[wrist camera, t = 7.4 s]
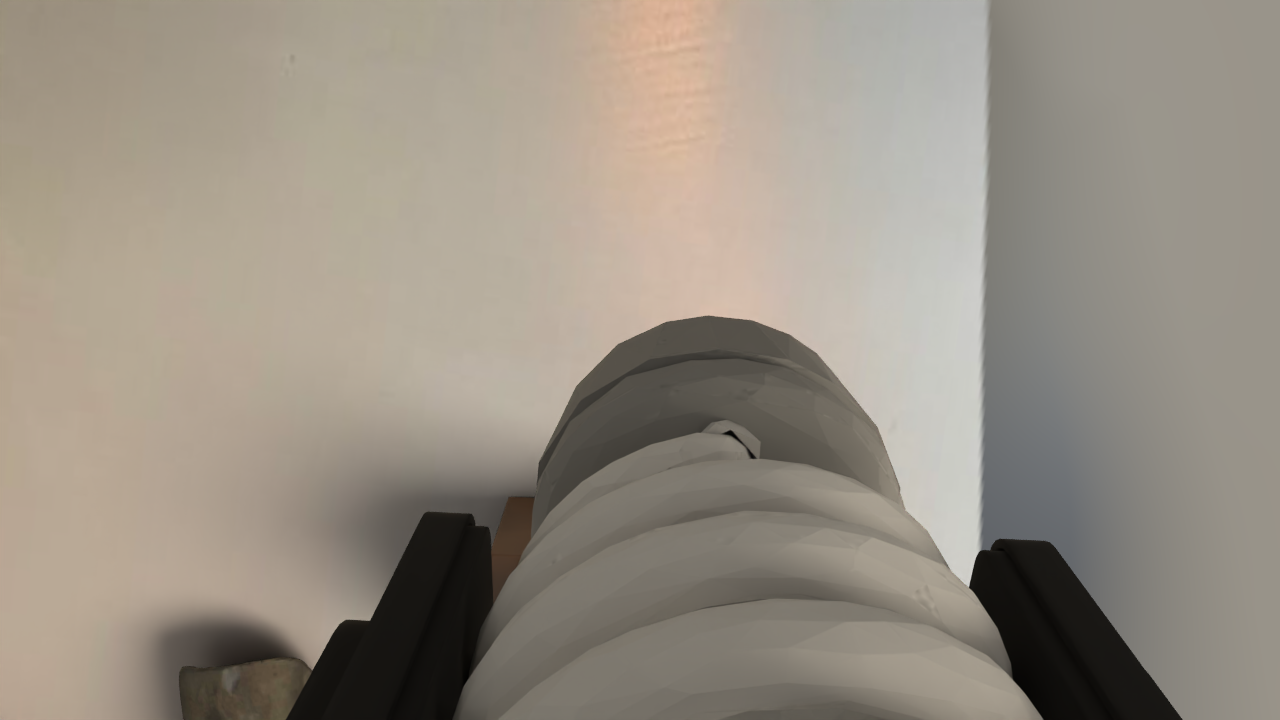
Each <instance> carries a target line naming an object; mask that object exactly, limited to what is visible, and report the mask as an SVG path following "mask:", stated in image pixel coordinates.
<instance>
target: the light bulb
mask: <svg viewBox="0 0 1280 720" xmlns="http://www.w3.org/2000/svg"><path fill="white" fill-rule="evenodd" d="M452 720H1043V718H1042V717H1041V715H1040V714H1039V713H1038V711H1037V710H1036V708H1035V707H1034V706H1033V704H1032V703H1031V701H1030V700H1029V698H1028V697H1027V696H1026V694H1025V693H1024V692H1023V691H1022V690H1021V688H1020V687H1019V686H1018V685H1017V684H1016V683H1015V682H1014V681H1013V677H1012V667H1011V662H1010V660H1009V657H1008V655H1007V652H1006V649H1005V647H1004V644H1003V641H1002V639H1001V636H1000V634H999V631H998V628H997V627H996V625H995V624H994V622H993V621H992V619H991V618H990V616H989V615H988V613H987V612H986V610H985V609H984V607H983V606H982V604H981V603H980V601H979V600H978V598H977V597H976V595H975V594H974V592H973V591H972V590H971V589H969V588H968V587H967V586H966V585H965V584H964V583H963V582H962V581H961V580H960V579H959V578H958V577H957V576H956V575H955V574H954V573H952V572H951V570H950V568H949V567H948V565H947V563H946V561H945V560H944V558H943V556H942V555H941V553H940V551H939V550H938V548H937V546H936V545H935V543H934V541H933V540H932V538H931V536H930V535H929V533H928V531H927V530H926V529H925V528H924V527H923V526H922V525H921V524H920V523H918V522H917V521H916V520H915V519H914V518H913V517H912V516H911V515H910V514H909V513H908V512H907V511H906V510H905V507H904V504H903V500H902V497H901V494H900V486H899V483H898V481H897V478H896V475H895V473H894V470H893V467H892V465H891V462H890V459H889V457H888V454H887V451H886V449H885V446H884V443H883V441H882V438H881V435H880V433H879V430H878V427H877V426H876V425H875V424H874V422H873V421H872V420H871V419H870V417H869V416H868V415H867V414H866V413H865V411H864V410H863V409H862V408H861V406H860V405H859V404H858V403H857V401H856V400H855V399H854V398H853V397H852V395H851V394H850V393H849V392H848V390H847V389H846V388H845V387H844V385H843V384H842V383H841V382H840V381H839V379H838V378H837V377H836V376H835V374H834V373H833V372H832V371H831V369H830V368H829V367H828V366H827V365H826V364H825V363H824V361H823V360H822V359H821V358H820V357H819V356H818V354H817V353H815V352H814V351H812V350H811V349H809V348H808V347H806V346H805V345H804V344H802V343H801V342H799V341H798V340H796V339H795V338H793V337H792V336H791V335H789V334H786V333H784V332H781V331H778V330H776V329H773V328H770V327H768V326H765V325H763V324H760V323H757V322H755V321H752V320H743V319H733V318H724V317H715V316H703V317H696V318H689V319H683V320H676V321H669V322H665V323H663V324H661V325H659V326H657V327H654V328H652V329H650V330H648V331H646V332H644V333H641V334H639V335H637V336H635V337H633V338H631V339H628V340H626V341H624V342H622V343H620V344H618V345H617V346H616V347H615V348H614V349H613V350H612V351H611V352H610V353H609V354H608V355H607V356H606V357H605V358H604V359H603V360H602V361H601V362H600V363H599V364H598V365H597V366H596V367H595V368H594V369H593V370H592V371H591V372H590V373H589V374H588V375H587V376H586V377H585V378H584V379H583V380H582V381H581V382H580V383H579V384H578V385H577V386H576V388H575V390H574V392H573V394H572V396H571V398H570V400H569V403H568V405H567V407H566V409H565V411H564V413H563V415H562V417H561V419H560V421H559V423H558V425H557V427H556V429H555V431H554V433H553V435H552V437H551V439H550V441H549V443H548V445H547V447H546V449H545V451H544V454H543V456H542V458H541V460H540V462H539V468H538V479H537V490H536V495H535V500H534V505H533V513H532V528H531V541H530V542H529V544H528V545H527V546H526V548H525V549H524V551H523V553H522V555H521V558H520V561H519V563H518V566H517V567H516V569H515V570H514V571H513V572H512V573H511V574H510V575H509V577H508V579H507V580H506V582H505V584H504V586H503V588H502V590H501V592H500V593H499V595H498V597H497V599H496V601H495V603H494V604H493V606H492V608H491V610H490V612H489V614H488V616H487V617H486V619H485V621H484V623H483V625H482V627H481V629H480V632H479V636H478V640H477V644H476V647H475V651H474V655H473V659H472V662H471V666H470V670H469V678H468V681H467V682H466V683H465V685H464V687H463V690H462V693H461V695H460V698H459V701H458V704H457V707H456V710H455V713H454V716H453V719H452Z"/></svg>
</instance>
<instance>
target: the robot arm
mask: <svg viewBox="0 0 1280 720" xmlns="http://www.w3.org/2000/svg"><path fill="white" fill-rule="evenodd" d="M969 589H971V590H972V591H973V592H974V594H975V595H976V597H977V598H978V600H979V601H980V603H981V604H982V606H983V607H984V609H985V610H986V612H987V613H988V615H989V616H990V618H991V619H992V621H993V622H994V624H995V625H996V627H997V628H998V631H999V634H1000V636H1001V639H1002V641H1003V644H1004V647H1005V649H1006V652H1007V655H1008V657H1009V660H1010V662H1011V667H1012V677H1013V681H1014V682H1015V683H1016V684H1017V685H1018V686H1019V687H1020V688H1021V690H1022V691H1023V692H1024V693H1025V694H1026V696H1027V697H1028V698H1029V700H1030V701H1031V703H1032V704H1033V706H1034V707H1035V708H1036V710H1037V711H1038V713H1039V714H1040V715H1041V717H1042V718H1043V720H1182V718H1181V717H1180V716H1179V714H1178V713H1177V712H1176V710H1175V709H1174V708H1173V707H1172V705H1171V704H1170V702H1169V701H1168V699H1167V698H1166V697H1165V695H1164V694H1163V693H1162V691H1161V690H1160V689H1159V687H1158V686H1157V685H1156V683H1155V682H1154V680H1153V679H1152V678H1151V677H1150V675H1149V674H1148V673H1147V672H1146V670H1145V669H1144V668H1143V667H1142V666H1141V664H1140V662H1139V661H1138V660H1137V658H1136V657H1135V655H1134V654H1133V653H1132V651H1131V650H1130V649H1129V647H1128V646H1127V645H1126V643H1125V642H1124V641H1123V639H1122V638H1121V637H1120V635H1119V634H1118V632H1117V631H1116V630H1115V628H1114V627H1113V626H1112V624H1111V623H1110V622H1109V620H1108V619H1107V617H1106V616H1105V615H1104V613H1103V612H1102V611H1101V609H1100V608H1099V607H1098V605H1097V604H1096V603H1095V601H1094V600H1093V598H1092V597H1091V596H1090V594H1089V593H1088V592H1087V590H1086V589H1085V588H1084V586H1083V585H1082V583H1081V582H1080V581H1079V579H1078V578H1077V577H1076V575H1075V574H1074V573H1073V571H1072V570H1071V568H1070V567H1069V566H1068V564H1067V563H1066V562H1065V560H1064V559H1063V558H1062V556H1061V555H1060V554H1059V552H1058V551H1057V549H1056V548H1055V547H1054V546H1053V545H1052V544H1051V543H1050V542H1046V541H1034V540H1015V539H999V540H996V541H995V542H994V544H993V545H992V547H991V550H990V551H989V550H982V551H980V552H979V553H978V555H977V557H976V560H975V564H974V568H973V572H972V577H971V581H970V586H969ZM492 606H493V581H492V557H491V536H490V530H489V528H488V527H484V526H475V520H474V516H473V515H472V514H464V513H443V512H426V513H424V515H423V516H422V518H421V520H420V522H419V524H418V526H417V528H416V530H415V532H414V534H413V536H412V538H411V540H410V542H409V544H408V546H407V548H406V550H405V552H404V554H403V556H402V558H401V560H400V562H399V564H398V566H397V568H396V570H395V572H394V574H393V576H392V578H391V580H390V582H389V584H388V586H387V588H386V590H385V592H384V594H383V596H382V598H381V600H380V602H379V604H378V606H377V608H376V610H375V612H374V614H373V616H372V618H371V620H370V621H361V620H345V621H344V622H342V623H341V624H339V626H338V627H337V629H336V630H335V632H334V633H333V635H332V636H331V638H330V640H329V642H328V644H327V645H326V647H325V649H324V651H323V653H322V655H321V656H320V658H319V660H318V662H317V664H316V666H315V667H314V669H313V671H312V673H311V675H310V676H309V678H308V680H307V682H306V684H305V686H304V687H303V689H302V691H301V693H300V695H299V696H298V698H297V700H296V702H295V704H294V706H293V707H292V709H291V711H290V713H289V715H288V717H287V718H286V720H452V719H453V716H454V713H455V710H456V707H457V704H458V701H459V698H460V695H461V693H462V690H463V687H464V685H465V683H466V682H467V681H468V678H469V670H470V666H471V662H472V659H473V655H474V651H475V647H476V644H477V640H478V636H479V632H480V629H481V627H482V625H483V623H484V621H485V619H486V617H487V616H488V614H489V612H490V610H491V608H492Z"/></svg>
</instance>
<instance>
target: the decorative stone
mask: <svg viewBox="0 0 1280 720" xmlns="http://www.w3.org/2000/svg"><path fill="white" fill-rule="evenodd" d="M311 673H312V670H311V669H310V668H309V667H308V666H307V665H306V664H305V662H303V661H302V660H300V659H296V658H290V657H289V658H283V657H279V658H271V659H264V660H257V661H252V662H247V663H242V664H235V665H229V666H220V667H208V668H196V667H191V666H187V667H182V669H181V670H180V675H179V687H180V697H181V705H182V713H183V719H184V720H286V718H287V717H288V715H289V713H290V711H291V709H292V707H293V706H294V704H295V702H296V700H297V698H298V696H299V695H300V693H301V691H302V689H303V687H304V686H305V684H306V682H307V680H308V678H309V676H310V675H311Z"/></svg>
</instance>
